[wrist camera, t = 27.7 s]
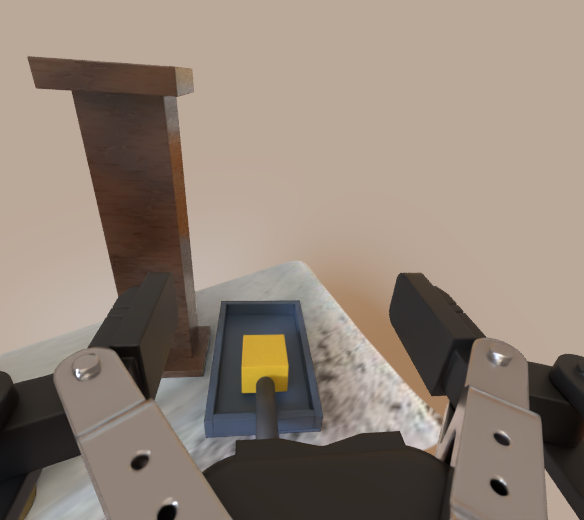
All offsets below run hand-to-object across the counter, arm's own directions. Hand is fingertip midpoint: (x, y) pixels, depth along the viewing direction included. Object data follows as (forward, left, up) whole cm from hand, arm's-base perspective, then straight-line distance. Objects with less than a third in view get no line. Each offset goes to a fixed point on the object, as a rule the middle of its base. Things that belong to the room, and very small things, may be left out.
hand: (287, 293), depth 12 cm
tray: (0, +21, -25) cm, 33 cm away
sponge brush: (0, +13, -23) cm, 27 cm away
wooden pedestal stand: (-12, +23, -25) cm, 36 cm away
